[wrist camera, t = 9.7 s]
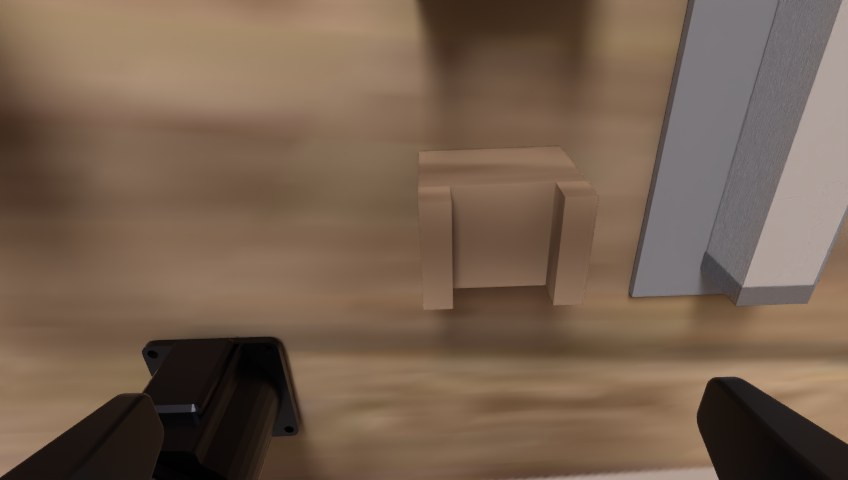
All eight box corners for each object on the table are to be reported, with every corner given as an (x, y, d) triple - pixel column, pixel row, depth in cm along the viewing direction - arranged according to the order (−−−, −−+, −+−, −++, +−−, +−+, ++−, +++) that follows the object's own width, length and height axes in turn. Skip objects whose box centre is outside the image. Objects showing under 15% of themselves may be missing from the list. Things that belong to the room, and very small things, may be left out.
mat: (807, 285, 22) (813, 290, 21) (628, 291, 22) (632, 296, 21) (1093, -385, 12) (1113, -396, 11) (764, -366, 12) (774, -376, 12)
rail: (763, 265, 21) (807, 303, 18) (700, 267, 21) (735, 306, 18) (971, -307, 12) (1104, -375, 10) (863, -302, 12) (969, -367, 10)
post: (550, 237, 20) (582, 304, 16) (423, 241, 20) (423, 309, 16) (559, 145, 18) (599, 196, 14) (419, 151, 18) (418, 203, 14)
